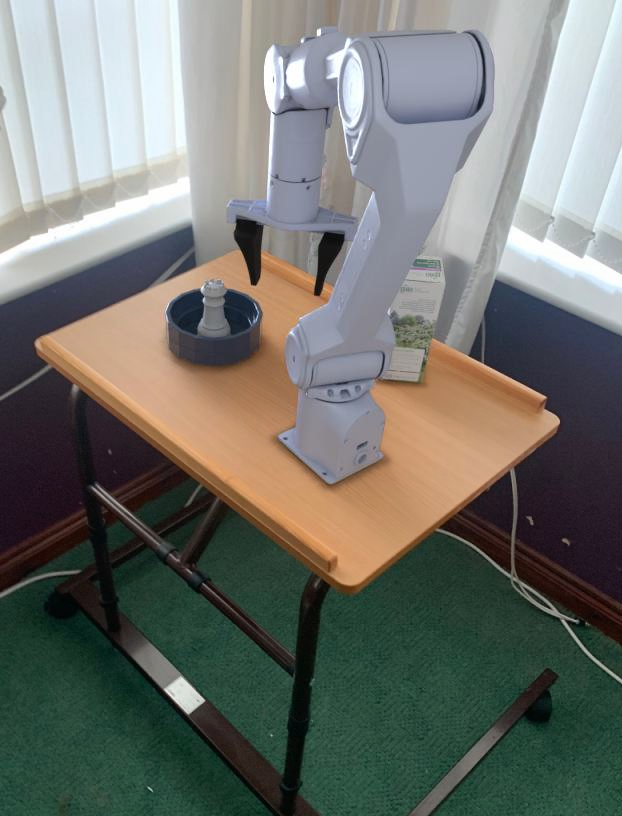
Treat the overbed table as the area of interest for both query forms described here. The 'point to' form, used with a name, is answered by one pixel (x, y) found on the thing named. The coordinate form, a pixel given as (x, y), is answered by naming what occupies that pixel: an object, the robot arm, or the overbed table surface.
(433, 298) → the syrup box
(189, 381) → the overbed table surface
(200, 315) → the bowl
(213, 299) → the rook chess piece
